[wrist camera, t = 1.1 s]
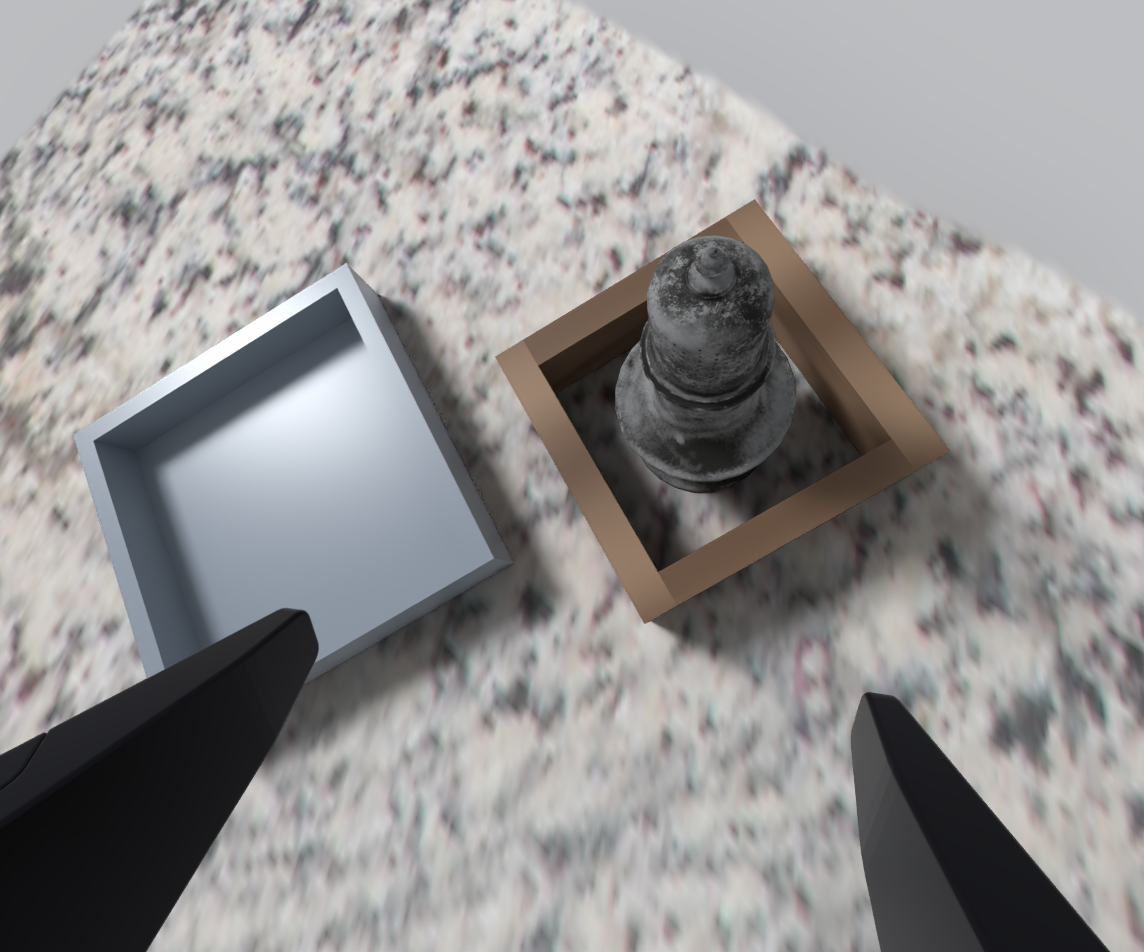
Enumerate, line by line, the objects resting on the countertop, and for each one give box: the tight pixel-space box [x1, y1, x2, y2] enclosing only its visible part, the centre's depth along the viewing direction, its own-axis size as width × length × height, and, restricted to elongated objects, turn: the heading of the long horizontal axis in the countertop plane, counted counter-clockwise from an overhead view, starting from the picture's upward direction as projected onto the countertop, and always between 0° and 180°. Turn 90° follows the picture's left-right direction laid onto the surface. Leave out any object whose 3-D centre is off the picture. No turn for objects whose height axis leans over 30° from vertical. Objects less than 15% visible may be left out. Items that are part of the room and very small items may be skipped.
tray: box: [73, 263, 514, 685], centre depth 25 cm, size 14×14×2 cm
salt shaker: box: [615, 236, 796, 492], centre depth 17 cm, size 6×6×12 cm
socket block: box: [496, 199, 950, 624], centre depth 22 cm, size 11×11×3 cm
